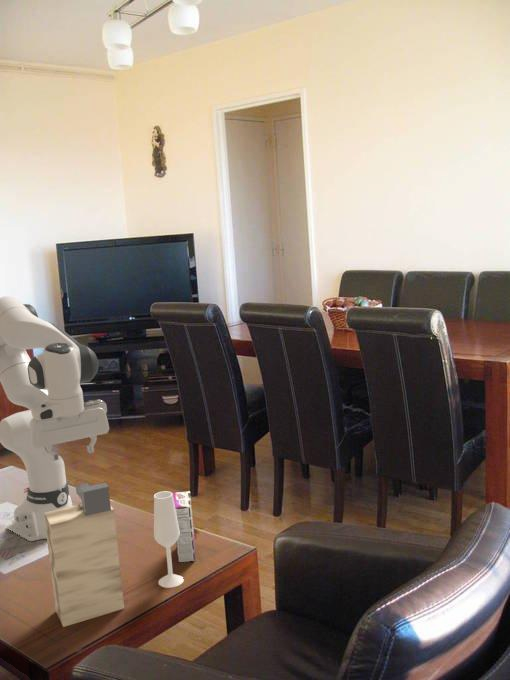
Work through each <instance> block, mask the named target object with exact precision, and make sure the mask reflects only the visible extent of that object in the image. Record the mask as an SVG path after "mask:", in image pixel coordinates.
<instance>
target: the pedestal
mask: <svg viewBox="0 0 510 680" xmlns="http://www.w3.org/2000/svg"><path fill="white" fill-rule="evenodd" d="M110 506H111V510H110V511H106V512H102V513H97V514H93V515H89V516H86V515H85V514H84V513H83V507H82V501H81V502H79V503H78V504H76V505H72V506H71V507H67V508H62V509H58V510H54V511H50V512H45V513H44V518H45V526H46V534H47V539H46V540H47V541H46V542H47V549H48V557H49V565H50V574H51V582H52V583H51V584H52V591H53V597H54V606H55V613H56V614H57V617H58V619H59V621H60V623H61V626H62V628H65V627H67V626H71V625H75V624H78V623H81V622H85V621H87V620H91V619H94V618H95V619H96V618H98V617H101V616H104V615H108V614H111V613H113V612H117V611H121V610H124V609H125V604H124V603H125V602H124V594H123V584H122V573H121V564H120V553H119V544H118V535H117V525H116V516H115V515H116V514H115V508H114V507H112V505H111V504H110Z"/></svg>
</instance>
